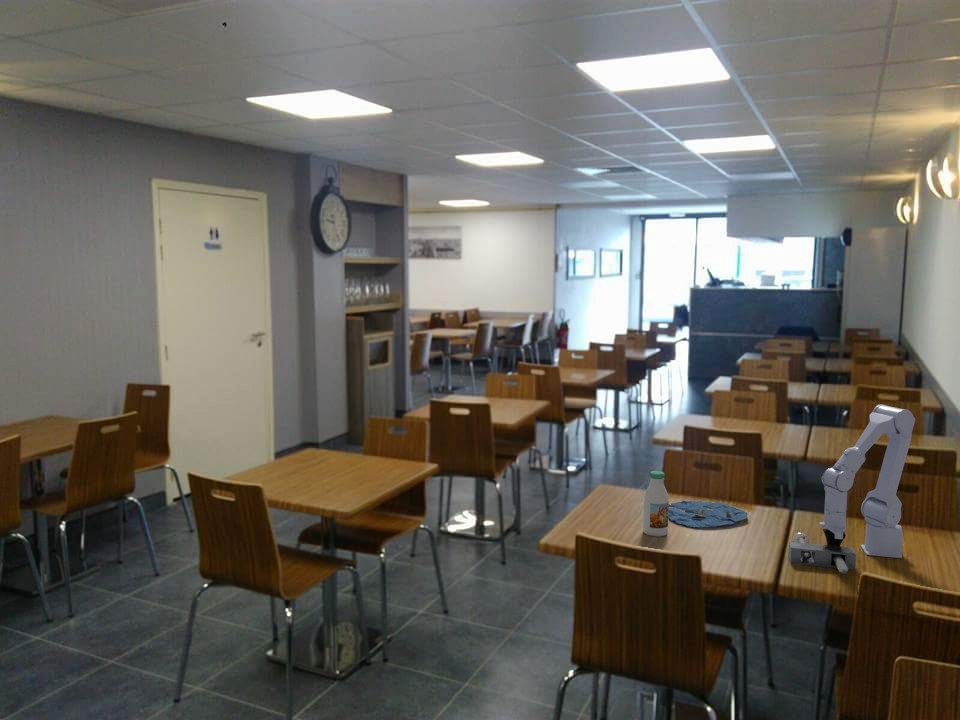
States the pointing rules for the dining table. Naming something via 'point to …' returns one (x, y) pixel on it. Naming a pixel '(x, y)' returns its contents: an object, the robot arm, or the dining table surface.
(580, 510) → the dining table surface
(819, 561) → the block
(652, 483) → the milk bottle
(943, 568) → the dining table surface
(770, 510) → the dining table surface
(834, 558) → the pin
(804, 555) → the pin
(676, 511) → the decorative plate
